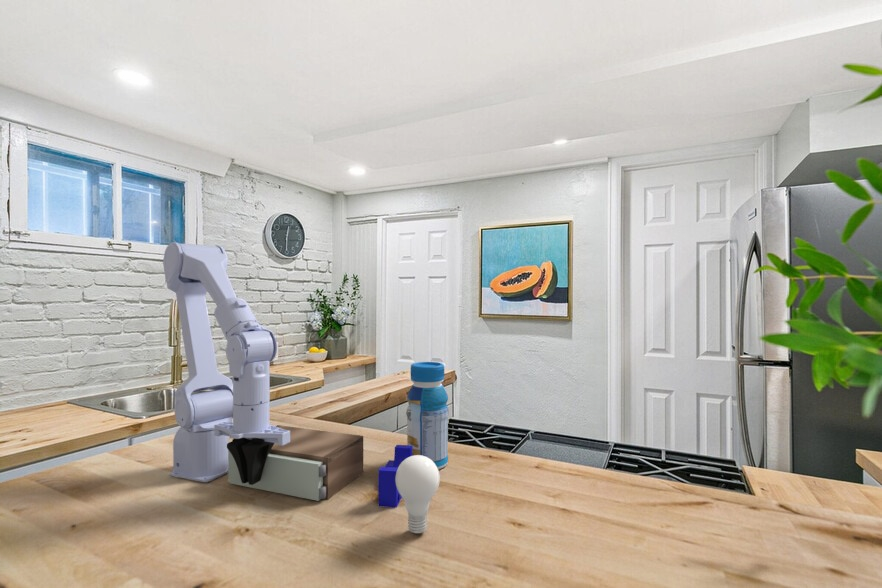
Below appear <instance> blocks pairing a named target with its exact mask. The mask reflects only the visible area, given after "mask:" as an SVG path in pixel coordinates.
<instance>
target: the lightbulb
mask: <svg viewBox="0 0 882 588" xmlns="http://www.w3.org/2000/svg"><path fill="white" fill-rule="evenodd" d="M440 481H441V477H440V471H439V469H438V468H437V466H436V464H435V463H434V462H433V461H432V460H431V459H430V458H428V457H426V456H423V455H413V456H410V457H408V458H406V459H405V460H404V461H403V462H402V463H401V464H400V465H399V467H398V469H397V472H396V476H395V482H396V487H397V490H398V492H399V493H400V495H401V496H402V498H401V499H403V501H404V503H405V509H406V511H407V514H408V522H407V523H408V526H407V527H408V531H409V532H410V533H412V534H414V535H420V534H423V533H424V532H426V531H427V529H428V511H429V509H430V503H431V501H432V499H433V497H434V496H435V494H436V493H437V491H438V489H439V485H440Z"/></svg>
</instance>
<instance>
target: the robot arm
mask: <svg viewBox="0 0 882 588" xmlns="http://www.w3.org/2000/svg"><path fill="white" fill-rule="evenodd" d="M162 264H163V271H164V277H165V282H166V286H167V289H169V290H170V291H172V292H173V293H175V296H176V301H177V307H178V309H177V310H178V314H179V320H180V321H179V322H180V327H181V334H182V339H183V346H184V352H185V359H186V364H187V372H188V378H186V379H185V380H184V381H183V382H182V383H181V384H180V385H179V386H178V387H177V389H176V390H175V393H174V401H175V403H174V417H175V421H176V423H177V425H178V426H179V428H178V430H177V431H176V433H175V434H174V437H173V439H172V442H173V443H172V448H173V449H172V450H173V451H172V454H173V455H172V457H173V459H172V460H173V462H172V463H173V464H172V465H173V467H172V468H173V471H171V472H169V473H168V474H169V476H170V477H174V478H181V479H185V480H191V481H197V482H201V483H208V482H209V483H210V482H211V481H213V480H215V479H218V478H220V477H221V476H223V475H225V474H228V450H229V451H230V453H231V454H232V456H233V458H234V460H235V462H236V465H237V468H238V471H239V474H240V478H241V481H242V483H244V484H245V483H247V482H248V483H249V485H253V484H255V483H257V482H259V481H260V480H261V476H262V472H263V468H264V465H265V462H266V459H267V457H268V454H269V452H270V450H271V448H272V447H273V445H274V443H278V445H281V446H283V445H285V444H287V443H289V442H290V431H289V430H284V429H281V428H278V427H276V426H277V425H272V424H271V423H270V401H271V399H270V392H271V391H270V390H271V389H270V384H271V383H270V378H271V377H270V376H271V375H270V371H271V370H270V365H271V364H270V363H272V362H273V361H274V360H275V358H276V356H277V352H278V343H277V338H276V337H275V334H274V332H273V331H272V330H271V329H269V328H266V327H265V326H264V325H260V324H259V321H258V319H257V318H256V316H255V314H254V312H253V310H252V309H251V307H250V305H249V304H248V302H247V300H245V299H244V298H241V297H237V295H236V292H235V290H234V287H233V284H232V283H231V280H230V278H229V275H228V272H227V271H228V265H229V257H228V254H227V252H226V250H225V248H224V247H222V246H221V245H219V244H218V245H207V244H206V245H205V244H192V243H179V242H177V241H171V242H170V243H169V244H168V245H167V246H166V248H165V250H164V255H163V261H162ZM207 293H208V294H209V296H210V297H211V299H212V301H213V302H214V303H215V305H216V307H215V309H214V312H213V313H214V314H213V315H214V317H215V319H216V321H217V323H218V325H219V327H220V330H221V332H222V333H223V335H224V337H225V339H226V342H227V343H226V347H225V355H226V359H227V362H228V366H229V375H230V376H231V377H232V379H231V378H230V377H229V376H226V375H225V374H223V373H221V372H219V369H218V365H217V358H216V357H217V356H216V352H215V345H214V341H213V335H212V329H211V323H210V317H209V312H208V305H207V299H206V294H207ZM230 439H231V440H232V441H229V440H230Z"/></svg>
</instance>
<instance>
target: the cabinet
mask: <svg viewBox="0 0 882 588" xmlns="http://www.w3.org/2000/svg"><path fill="white" fill-rule="evenodd" d="M275 426H276V427H278V428H281V429H284V430H289V431H290V442H289V443H287V444H285V445H283V446H281V445H278V443H274V445H273V447H272V448H271V450H270V452H269V453H271V454H277V455H284V456H290V457H296V458H302V459H308V460H315V461H321V462H323V464H324V465H326V476H324V477H323V486H326V498H324V499H323V500H329V499H331V498H332V497H334V496H335V495H336V494H337V493H339V492H340V491H342V490H343V489H344V488H345V487H347V486H348V485H349V484H350V483H352V482H353V481H354V480H356V479H357V478H359V477H360V476H361V475H363V473H364V472H365V471H364V435H360V434H350V433H343V432H342V433H341V432H335V431H327V430H326V431H325V430H320V429H319V430H317V429H310V428H303V427H295V426H288V425H280V424H278V425H275Z"/></svg>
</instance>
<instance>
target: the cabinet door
mask: <svg viewBox="0 0 882 588" xmlns="http://www.w3.org/2000/svg"><path fill="white" fill-rule="evenodd" d="M227 474H228V484H232V485H236V486H242V487H247V488H252V489H255V490H256V489H257V490H262V491H267V492H271V493H272V492H273V493H277V494H281V495H287V496H292V497H297V498H302V499H307V500H313V501H316V502H318V501H321V500H325V499H324V498H326V486H323V477H324V476H326V465H324V464H323V462H321V461H315V460H308V459H302V458H296V457H290V456H284V455H277V454H271V453H269V454H268V457H267V459H266V462H265V465H264V468H263V472H262V476H261V480H260V481H259V482H257V483H255V484H253V485H249V483H248V482H247V483H245V484H244V483H242V481H241V478H240V474H239V471H238V468H237V465H236V462H235V460H234V458H233V456H232V454H231V453H230V451H229V450H228V473H227Z"/></svg>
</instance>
